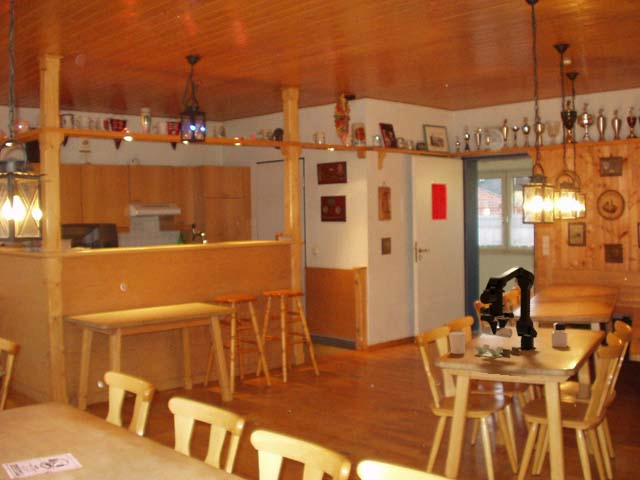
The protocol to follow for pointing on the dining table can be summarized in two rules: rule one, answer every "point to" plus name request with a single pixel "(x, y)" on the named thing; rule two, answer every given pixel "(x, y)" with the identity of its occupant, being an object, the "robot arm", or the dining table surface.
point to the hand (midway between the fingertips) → (497, 333)
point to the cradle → (492, 353)
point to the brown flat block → (510, 351)
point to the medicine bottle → (559, 335)
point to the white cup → (457, 342)
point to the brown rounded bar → (498, 331)
